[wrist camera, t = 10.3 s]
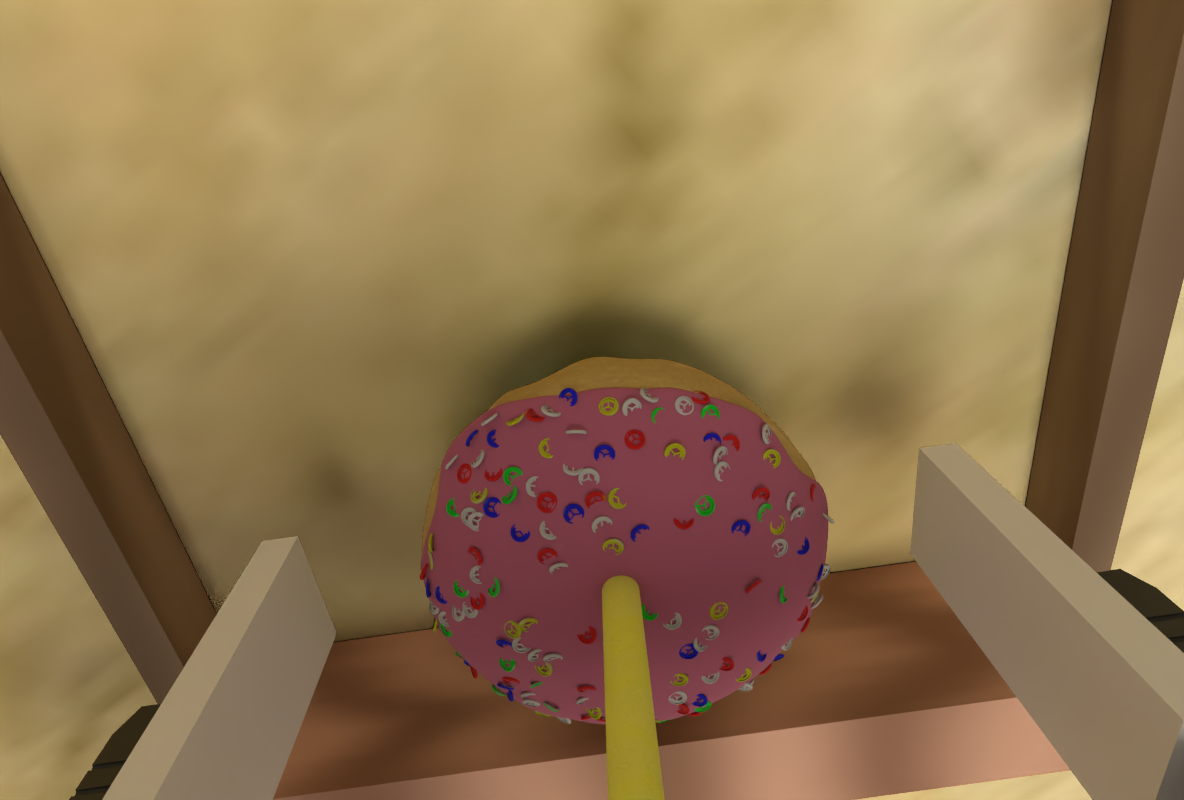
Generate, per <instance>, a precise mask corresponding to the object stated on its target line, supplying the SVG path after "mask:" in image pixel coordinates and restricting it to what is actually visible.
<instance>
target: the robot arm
mask: <svg viewBox="0 0 1184 800" xmlns="http://www.w3.org/2000/svg"><path fill="white" fill-rule="evenodd" d="M910 554H911V555H912V556H913V558H914V559H915V560H916V562H917V563H918V565H919V566H920V567H921V569H922V570H923V571H924V573H925V574H926V575H927V577H928V578H929V579H930V581H931V582H932V583H933V585H934V586H935V588H936V589H937V590H938V592H939V593H940V594H941V596H942V597H943V598H944V600H945V601H946V602H947V604H948V605H949V606H950V608H951V609H952V610H953V612H954V613H955V615H956V616H957V617H958V619H959V620H960V621H961V623H962V624H963V625H964V627H965V628H966V629H967V631H968V632H969V633H970V635H971V636H972V637H973V639H974V640H975V642H976V643H977V644H978V646H979V647H980V648H981V650H982V651H983V652H984V654H985V655H986V656H987V658H988V659H989V660H990V662H991V663H992V664H993V666H994V667H995V669H996V670H997V671H998V673H999V674H1000V675H1001V677H1002V678H1003V679H1004V681H1005V682H1006V683H1007V685H1008V686H1009V687H1010V689H1011V690H1012V691H1013V693H1014V694H1015V696H1016V697H1017V698H1018V700H1019V701H1020V702H1021V704H1022V705H1023V706H1024V708H1025V709H1026V710H1027V712H1028V713H1029V714H1030V716H1031V717H1032V719H1033V720H1034V721H1035V723H1036V724H1037V725H1038V727H1039V728H1040V729H1041V731H1042V732H1043V733H1044V735H1045V736H1046V737H1047V739H1048V740H1049V741H1050V743H1051V744H1052V746H1053V747H1054V748H1055V750H1056V751H1057V752H1058V754H1059V755H1060V756H1061V758H1062V759H1063V760H1064V762H1065V763H1066V764H1067V766H1068V767H1069V768H1070V770H1071V771H1072V773H1073V774H1074V775H1075V777H1076V778H1077V779H1078V781H1079V782H1080V783H1081V785H1082V786H1083V787H1084V789H1085V790H1086V791H1087V793H1088V794H1089V795H1090V797H1091V798H1092V800H1184V611H1183V610H1182V609H1180V608H1179V607H1178V606H1177V605H1176V604H1175V603H1173V602H1172V601H1171V600H1170V599H1169V598H1168V597H1166V596H1165V595H1164V594H1163V593H1162V592H1161V591H1159V590H1158V589H1157V588H1155V587H1154V586H1152V585H1150V584H1148V583H1146V582H1144V581H1142V580H1140V579H1138V578H1136V577H1134V576H1132V575H1131V574H1129V573H1127V572H1125V571H1123V570H1121V569H1117V570H1109V571H1102V572H1095V571H1094V570H1093V569H1092V568H1091V567H1090V566H1089V565H1088V564H1087V563H1086V562H1084V561H1083V560H1082V559H1081V558H1080V557H1079V556H1078V555H1077V554H1076V553H1075V552H1074V551H1073V550H1071V549H1070V548H1069V547H1068V546H1067V545H1066V544H1065V543H1064V542H1063V541H1062V540H1061V539H1060V538H1058V537H1057V536H1056V535H1055V534H1054V533H1053V532H1052V531H1051V530H1050V529H1049V528H1048V527H1047V526H1045V525H1044V524H1043V523H1042V522H1041V521H1040V520H1039V519H1038V518H1037V517H1036V516H1035V515H1034V514H1032V513H1031V512H1030V511H1029V510H1028V509H1027V508H1026V507H1025V506H1024V505H1023V504H1022V503H1021V502H1019V501H1018V500H1017V499H1016V498H1015V497H1014V496H1013V495H1012V494H1011V493H1010V492H1009V491H1008V490H1006V489H1005V488H1004V487H1003V486H1002V485H1001V484H1000V483H999V482H998V481H997V480H996V479H995V478H993V477H992V476H991V475H990V474H989V473H988V472H987V471H986V470H985V469H984V468H983V467H982V466H980V465H979V464H978V463H977V462H976V461H975V460H974V459H973V458H972V457H971V456H970V455H969V454H967V453H966V452H965V451H964V450H963V449H962V448H961V447H960V446H959V445H958V444H957V443H952V444H945V445H937V446H930V447H923V448H919V457H918V469H917V480H916V491H915V503H914V514H913V526H912V537H911V549H910ZM336 634H337V633H336V630H335V628H334V625H333V623H332V620H331V618H330V615H329V613H328V610H327V608H326V605H325V603H324V600H323V598H322V595H321V592H320V590H319V587H318V585H317V582H316V580H315V577H314V575H313V572H312V570H311V567H310V565H309V562H308V560H307V557H306V555H305V552H304V550H303V547H302V545H301V542H300V540H299V537H298V536H294V537H287V538H280V539H273V540H266V541H262V542H261V544H260V545H259V547H258V549H257V550H256V552H255V553H254V555H253V557H252V558H251V560H250V562H249V563H248V565H247V566H246V568H245V570H244V571H243V573H242V574H241V576H240V578H239V579H238V581H237V583H236V584H235V586H234V587H233V589H232V591H231V592H230V594H229V595H228V597H227V599H226V600H225V602H224V604H223V605H222V607H221V608H220V610H219V612H218V613H217V615H216V616H215V618H214V620H213V621H212V623H211V625H210V626H209V628H208V629H207V631H206V633H205V634H204V636H203V637H202V639H201V641H200V642H199V644H198V646H197V647H196V649H195V650H194V652H193V654H192V655H191V657H190V658H189V660H188V662H187V663H186V665H185V667H184V668H183V670H182V671H181V673H180V675H179V676H178V678H177V679H176V681H175V683H174V684H173V686H172V688H171V689H170V691H169V692H168V694H167V696H166V697H165V699H164V700H163V702H162V704H157V705H150V706H143V707H141V708H140V709H139V710H138V711H137V712H136V713H135V714H133V715H132V716H131V717H130V718H129V719H128V720H127V721H126V722H125V723H124V724H123V725H122V726H121V727H120V728H119V729H118V730H117V731H116V732H115V733H114V734H113V735H112V736H111V738H110V739H109V741H108V742H107V744H106V745H105V747H104V748H103V750H102V751H101V753H100V754H99V756H98V757H97V759H96V760H95V762H94V763H93V765H92V766H93V768H92V770H91V771H88V772H87V774H86V775H85V777H84V778H83V780H82V781H81V783H80V784H79V786H78V787H77V789H76V794H75V796H72V797H71V798H70V799H69V800H273V797H274V795H275V792H276V790H277V787H278V784H279V782H280V779H281V777H282V774H283V771H284V769H285V766H286V764H287V761H288V758H289V756H290V753H291V751H292V748H293V745H294V743H295V740H296V738H297V735H298V732H299V730H300V727H301V725H302V722H303V719H304V717H305V714H306V712H307V709H308V706H309V704H310V701H311V699H312V696H313V693H314V691H315V688H316V686H317V683H318V680H319V678H320V675H321V673H322V670H323V668H324V665H325V662H326V660H327V657H328V655H329V652H330V649H331V647H332V644H333V642H334V639H335V636H336Z"/></svg>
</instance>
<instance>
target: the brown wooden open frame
mask: <svg viewBox="0 0 1184 800" xmlns="http://www.w3.org/2000/svg"><path fill="white" fill-rule="evenodd" d="M1183 279H1184V0H1113V4H1112V10H1111V16H1110V22H1109V27H1108V33H1107V39H1106V45H1105V51H1104V56H1103V62H1102V68H1101V74H1100V79H1099V85H1098V91H1097V97H1096V103H1095V108H1094V114H1093V120H1092V126H1091V131H1090V137H1089V143H1088V149H1087V154H1086V160H1085V166H1084V172H1083V178H1082V183H1081V189H1080V195H1079V201H1078V206H1077V212H1076V218H1075V224H1074V229H1073V235H1072V241H1071V247H1070V253H1069V258H1068V264H1067V270H1066V276H1065V281H1064V287H1063V293H1062V299H1061V305H1060V310H1059V316H1058V322H1057V328H1056V333H1055V339H1054V345H1053V351H1052V356H1051V362H1050V368H1049V374H1048V380H1047V385H1046V391H1045V397H1044V403H1043V408H1042V414H1041V420H1040V426H1039V432H1038V437H1037V443H1036V449H1035V455H1034V460H1033V466H1032V472H1031V478H1030V483H1029V489H1028V495H1027V501H1026V508H1027V509H1028V510H1029V511H1030V512H1031V513H1032V514H1034V515H1035V516H1036V517H1037V518H1038V519H1039V520H1040V521H1041V522H1042V523H1043V524H1044V525H1045V526H1047V527H1048V528H1049V529H1050V530H1051V531H1052V532H1053V533H1054V534H1055V535H1056V536H1057V537H1058V538H1060V539H1061V540H1062V541H1063V542H1064V543H1065V544H1066V545H1067V546H1068V547H1069V548H1070V549H1071V550H1073V551H1074V552H1075V553H1076V554H1077V555H1078V556H1079V557H1080V558H1081V559H1082V560H1083V561H1084V562H1086V563H1087V564H1088V565H1089V566H1090V567H1091V568H1092V569H1093V570H1094V571H1095V572H1102V571H1109V570H1110V569H1111V565H1112V561H1113V558H1114V554H1115V550H1116V546H1117V542H1118V538H1119V534H1120V530H1121V526H1122V522H1123V518H1124V514H1125V510H1126V506H1127V502H1128V498H1129V494H1130V490H1131V486H1132V482H1133V478H1134V474H1135V470H1136V466H1137V462H1138V458H1139V454H1140V450H1141V446H1142V442H1143V438H1144V434H1145V430H1146V426H1147V422H1148V418H1149V414H1150V410H1151V406H1152V402H1153V398H1154V394H1155V390H1156V386H1157V382H1158V378H1159V374H1160V370H1161V366H1162V362H1163V358H1164V354H1165V350H1166V346H1167V342H1168V338H1169V334H1170V330H1171V326H1172V322H1173V318H1174V314H1175V310H1176V307H1177V303H1178V299H1179V295H1180V291H1181V287H1182V283H1183ZM0 435H1V436H2V438H3V440H4V442H5V443H6V445H7V447H8V448H9V450H10V452H11V453H12V455H13V457H14V459H15V460H16V462H17V464H18V465H19V467H20V469H21V471H22V472H23V474H24V476H25V477H26V479H27V481H28V483H29V484H30V486H31V488H32V489H33V491H34V493H35V494H36V496H37V498H38V500H39V501H40V503H41V505H42V506H43V508H44V510H45V512H46V513H47V515H48V517H49V518H50V520H51V522H52V524H53V525H54V527H55V529H56V530H57V532H58V534H59V536H60V537H61V539H62V541H63V542H64V544H65V546H66V547H67V549H68V551H69V553H70V554H71V556H72V558H73V559H74V561H75V563H76V565H77V566H78V568H79V570H80V571H81V573H82V575H83V577H84V578H85V580H86V582H87V583H88V585H89V587H90V589H91V590H92V592H93V594H94V595H95V597H96V599H97V600H98V602H99V604H100V606H101V607H102V609H103V611H104V612H105V614H106V616H107V618H108V619H109V621H110V623H111V624H112V626H113V628H114V630H115V631H116V633H117V635H118V636H119V638H120V640H121V642H122V643H123V645H124V647H125V648H126V650H127V652H128V653H129V655H130V657H131V659H132V660H133V662H134V664H135V665H136V667H137V669H138V671H139V672H140V674H141V676H142V677H143V679H144V681H145V683H146V684H147V686H148V688H149V689H150V691H151V693H152V694H153V696H154V698H155V700H156V701H157V703H158V704H162V702H163V700H164V699H165V697H166V696H167V694H168V692H169V691H170V689H171V688H172V686H173V684H174V683H175V681H176V679H177V678H178V676H179V675H180V673H181V671H182V670H183V668H184V667H185V665H186V663H187V662H188V660H189V658H190V657H191V655H192V654H193V652H194V650H195V649H196V647H197V646H198V644H199V642H200V641H201V639H202V637H203V636H204V634H205V633H206V631H207V629H208V628H209V626H210V625H211V623H212V621H213V620H214V618H215V616H216V615H217V614H216V612H215V610H214V608H213V606H212V604H211V602H210V600H209V598H208V596H207V593H206V591H205V589H204V587H203V585H202V583H201V581H200V579H199V577H198V575H197V573H196V571H195V569H194V567H193V565H192V563H191V561H190V559H189V557H188V555H187V553H186V551H185V549H184V547H183V545H182V543H181V541H180V539H179V537H178V534H177V532H176V530H175V528H174V526H173V524H172V522H171V520H170V518H169V516H168V514H167V512H166V510H165V508H164V506H163V504H162V502H161V500H160V498H159V496H158V494H157V492H156V490H155V488H154V486H153V484H152V482H151V480H150V478H149V475H148V473H147V471H146V469H145V467H144V465H143V463H142V461H141V459H140V457H139V455H138V453H137V451H136V449H135V447H134V445H133V443H132V441H131V439H130V437H129V435H128V433H127V431H126V429H125V427H124V425H123V423H122V421H121V419H120V416H119V414H118V412H117V410H116V408H115V406H114V404H113V402H112V400H111V398H110V396H109V394H108V392H107V390H106V388H105V386H104V384H103V382H102V380H101V378H100V376H99V374H98V372H97V370H96V368H95V366H94V364H93V362H92V360H91V357H90V355H89V353H88V351H87V349H86V347H85V345H84V343H83V341H82V339H81V337H80V335H79V333H78V331H77V329H76V327H75V325H74V323H73V321H72V319H71V317H70V315H69V313H68V311H67V309H66V307H65V305H64V303H63V301H62V298H61V296H60V294H59V292H58V290H57V288H56V286H55V284H54V282H53V280H52V278H51V276H50V274H49V272H48V270H47V268H46V266H45V264H44V262H43V260H42V258H41V256H40V254H39V252H38V250H37V248H36V246H35V244H34V242H33V239H32V237H31V235H30V233H29V231H28V229H27V227H26V225H25V223H24V221H23V219H22V217H21V215H20V213H19V211H18V209H17V207H16V205H15V203H14V201H13V199H12V197H11V195H10V193H9V191H8V189H7V187H6V185H5V183H4V180H3V178H2V176H1V174H0ZM823 575H824V574H823ZM820 594H821V595H823V599H822V601H821V602H820V604H819V605H818V606H817V607H815V608H813V610H812V614H811V616H810V622H809V624H808V627H807V628H806V630H805V631H804V632H803V633H802V632H801V633H800V634H799V635H798V636H797V637H796V638H795V639H794V640H793V641H792V644H791V647H790V648H789V649H788V650H786V651H785V650H783V651H782V652H781V653H780V654H784V657H783V658H782V659H780V660H777V661H774V662H772V666H771V668H770V670H769V671H768V672H767V673H765V674H763V675H760V674H758V675H757V676H756V677H754V683H753V684H752V686H753V688H752V690H750V691H740V690H736V691H734V692H733V693H731V694H729V695H727V696H726V697H724V698H722V699H720V700H718V701H716V702H714V703H712V704H711V707H710V708H709V709H708V710H707V711H705V712H702V713H701V714H700V715H698V716H690V715H688V714H687V715H685V716H682V717H678V718H675V719H672V720H670V721H667V722H663V723H658V722H656V723H655V724H656V732H657V741H658V749H659V757H660V765H661V774H662V782H663V790H664V799H665V800H854V799H861V798H869V797H876V796H884V795H891V794H898V793H906V792H913V791H921V790H928V789H935V788H943V787H950V786H957V785H965V784H972V783H980V782H987V781H994V780H1002V779H1009V778H1017V777H1024V776H1031V775H1039V774H1046V773H1054V772H1061V771H1068V770H1070V768H1069V767H1068V766H1067V764H1066V763H1065V762H1064V760H1063V759H1062V758H1061V756H1060V755H1059V754H1058V752H1057V751H1056V750H1055V748H1054V747H1053V746H1052V744H1051V743H1050V741H1049V740H1048V739H1047V737H1046V736H1045V735H1044V733H1043V732H1042V731H1041V729H1040V728H1039V727H1038V725H1037V724H1036V723H1035V721H1034V720H1033V719H1032V717H1031V716H1030V714H1029V713H1028V712H1027V710H1026V709H1025V708H1024V706H1023V705H1022V704H1021V702H1020V701H1019V700H1018V698H1017V697H1016V696H1015V694H1014V693H1013V691H1012V690H1011V689H1010V687H1009V686H1008V685H1007V683H1006V682H1005V681H1004V679H1003V678H1002V677H1001V675H1000V674H999V673H998V671H997V670H996V669H995V667H994V666H993V664H992V663H991V662H990V660H989V659H988V658H987V656H986V655H985V654H984V652H983V651H982V650H981V648H980V647H979V646H978V644H977V643H976V642H975V640H974V639H973V637H972V636H971V635H970V633H969V632H968V631H967V629H966V628H965V627H964V625H963V624H962V623H961V621H960V620H959V619H958V617H957V616H956V615H955V613H954V612H953V610H952V609H951V608H950V606H949V605H948V604H947V602H946V601H945V600H944V598H943V597H942V596H941V594H940V593H939V592H938V590H937V589H936V588H935V586H934V585H933V583H932V582H931V581H930V579H929V578H928V577H927V575H926V574H925V573H924V571H923V570H922V569H921V567H920V566H919V565H918V563H917V562H909V563H902V564H895V565H888V566H880V567H873V568H866V569H859V570H852V571H844V572H837V573H830V574H828V576H827V577H826V578H824V579H823V580H821V583H820V589H819V593H818V595H820ZM818 595H817V596H818ZM818 600H819V599H818ZM455 652H456V650H455V649H454V648H453V647H452V646H451V644H450V643H449V642H448V641H447V640H446V638H445V637H444V636H443V634H442V633H441V631H440V630H439V628H436V631H433V629H428V630H421V631H414V632H406V633H399V634H392V635H385V636H378V637H370V638H363V639H356V640H349V641H342V642H335V643H333V644H332V647H331V649H330V652H329V655H328V657H327V660H326V662H325V665H324V668H323V670H322V673H321V675H320V678H319V680H318V683H317V686H316V688H315V691H314V693H313V696H312V699H311V701H310V704H309V706H308V709H307V712H306V714H305V717H304V719H303V722H302V725H301V727H300V730H299V732H298V735H297V738H296V740H295V743H294V745H293V748H292V751H291V753H290V756H289V758H288V761H287V764H286V766H285V769H284V771H283V774H282V777H281V779H280V782H279V784H278V787H277V790H276V792H275V795H274V797H273V800H608V788H607V753H606V724H595V723H588V722H582V721H577V720H572V719H571V723H570V724H565V723H563V722H561V721H560V720H558V719H557V717H556V716H550V717H542V716H539V715H537V714H536V713H535V710H533V709H530V708H528V707H526V706H524V705H523V704H521V703H519V702H518V701H516V700H513V701H512V702H511V701H510V700H509V699H508V697H507V694H506V695H505V696H500V695H498V694H496V693H495V692H494V691H493V689H492V687H491V685H492V683H491V682H489V681H488V680H487V679H486V678H485V677H483V676H482V675H481V674H480V673H479V672H478V671H477V674H478V677H477V679H475V678H474V677H473V675H472V672H471V668H470V666H468V665H466V664H465V663H464V660H465V659H463V658H461V657H459V656H457V655H456V654H455ZM767 667H768V666H767ZM767 667H766V668H767ZM764 670H765V669H764ZM764 670H763V671H764ZM749 682H750V681H749ZM495 688H496V687H495ZM496 689H497V688H496ZM497 690H498V689H497ZM500 692H502V691H500ZM704 708H705V707H704Z"/></svg>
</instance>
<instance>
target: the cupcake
mask: <svg viewBox="0 0 1184 800" xmlns="http://www.w3.org/2000/svg"><path fill="white" fill-rule="evenodd" d="M828 521H830V522H831V523H834V521H833V520H832V519H831V518H830V517H829V516H828V506H827V500H826V496H825V493H824V490H823V488H822V487H821V486H820V484H819V483H818V482H816V479H815V477H814V474H813V472H812V470H811V468H810V467H809V465H808V464H807V462H806V461H805V460H804V458H803V457H802V456H801V454H800V453H799V452H798V450H797V449H796V448H795V446H794V445H793V443H792V442H791V441H790V439H789V438H788V437H787V436H786V435H785V433H784V432H783V431H782V430H781V429H780V428H779V427H778V426H777V424H776V423H775V422H774V421H772V420H771V419H770V418H769V417H768V416H767V415H766V414H765V413H764V412H763V411H762V410H761V409H760V408H759V407H758V406H757V405H755V404H754V403H753V402H752V401H751V400H749V399H748V398H747V397H746V396H744V395H743V394H742V393H740V392H739V391H737V390H736V389H734V388H733V387H731V386H730V385H728V384H726V383H725V382H723V381H721V380H719V379H717V378H715V377H714V376H712V375H710V374H707V373H705V372H703V371H701V370H699V369H696V368H694V367H691V366H688V365H685V364H682V363H678V362H675V361H671V360H664V359H625V358H613V357H593V358H588V359H584V360H581V361H578V362H576V363H573V364H571V365H569V366H567V367H565V368H563V369H561V370H559V371H557V372H556V373H554V374H552V375H550V376H548V377H546V378H544V379H542V380H539V381H537V382H535V383H532V384H529V385H526V386H523V387H520V388H517V389H514V390H511V391H509V392H507V393H506V394H504V395H503V396H501V397H500V398H499V399H498V400H497V401H496V402H495V403H494V404H493V405H492V406H491V407H490V408H489V409H488V410H487V412H485V413H483V414H482V415H481V416H479V417H478V418H477V419H475V420H474V421H473V422H472V423H471V424H469V425H468V426H467V427H466V428H465V429H464V430H463V431H462V432H461V433H460V434H459V435H458V437H457V438H456V439H455V440H454V442H453V443H452V444H451V446H450V447H449V449H448V450H447V453H446V455H445V457H444V459H443V462H442V465H441V468H440V469H439V471H438V473H437V475H436V477H435V480H434V482H433V486H432V489H431V493H430V497H429V502H428V507H427V512H426V518H425V524H424V529H423V536H422V560H421V571H422V572H421V575H420V580H424V584H425V587H426V595H427V597H429V600H430V605H429V608H430V612H431V613H432V614H433V615H434V616H435V620H434V624H433V631H436V628H437V625H438V627H439V630H440V631H441V633H442V634H443V636H444V637H445V638H446V640H447V641H448V642H449V643H450V644H451V646H452V647H453V648H454V649H455V650H456V652H455V654H456V655H457V656H459V657H461V658H463V659H465V660H464V663H465V664H466V665H468V666H470V668H471V672H472V675H473V677H474V678H475V679H477V677H478V674H477V671H478V672H479V673H480V674H481V675H482V676H483V677H485V678H486V679H487V680H488V681H489V682H491V683H492V685H491V687H492V689H493V691H494V692H495V693H496V694H498V695H500V696H505V695H506V694H507V697H508V699H509V700H510V701H511V702H512V701H513V700H516V701H518V702H519V703H521V704H523V705H524V706H526V707H528V708H530V709H533V710H535V713H536V714H537V715H539V716H542V717H550V716H556V717H557V719H558V720H560V721H561V722H563V723H565V724H570V723H571V719H572V720H577V721H582V722H588V723H595V724H606V753H607V788H608V800H665V799H664V790H663V782H662V774H661V765H660V757H659V749H658V741H657V732H656V724H655V723H656V722H658V723H663V722H667V721H670V720H672V719H675V718H678V717H682V716H685V715H687V714H688V715H690V716H698V715H700V714H701V713H702V712H705V711H707V710H708V709H709V708H710V707H711V704H712V703H714V702H716V701H718V700H720V699H722V698H724V697H726V696H727V695H729V694H731V693H733V692H734V691H736V690H740V691H750V690H752V688H753V686H752V684H753V683H754V677H756V676H757V675H758V674H760V675H763V674H765V673H767V672H768V671H769V670H770V668H771V666H772V662H774V661H777V660H780V659H782V658H783V657H784V654H780V653H781V652H782V651H783V650H785V651H786V650H788V649H789V648H790V647H791V644H792V641H793V640H794V639H795V638H796V637H797V636H798V635H799V634H800V633H801V632H802V633H803V632H804V631H805V630H806V628H807V627H808V624H809V622H810V616H811V614H812V610H813V608H815V607H817V606H818V605H819V604H820V602H821V601H822V599H823V595H821V594H820V595H818V593H819V589H820V583H821V580H823V579H824V578H826V577H827V576H828V574H829V572H830V566H829V565H828V564H825V559H826V551H827V540H828ZM825 568H826V571H824V569H825ZM823 573H825V574H824V575H823ZM817 595H818V596H817ZM818 599H819V600H818ZM767 666H768V667H767ZM766 667H767V668H766ZM764 669H765V670H764ZM763 670H764V671H763ZM749 681H750V682H749ZM495 687H496V688H497V689H498V690H497V689H496V688H495ZM500 691H502V692H500ZM704 707H705V708H704Z"/></svg>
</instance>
